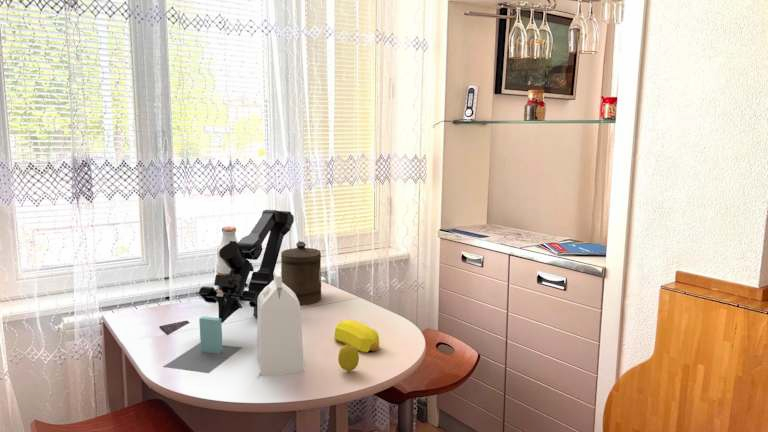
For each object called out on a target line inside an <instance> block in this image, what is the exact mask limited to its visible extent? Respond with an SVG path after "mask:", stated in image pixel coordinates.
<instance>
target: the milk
mask: <svg viewBox="0 0 768 432" xmlns="http://www.w3.org/2000/svg"><path fill="white" fill-rule="evenodd" d="M273 275H274V280H273V281H272V282H271V283H270V284H269V285H267V286H266V287H265V288H264V289H263V291H262V292H261V293H260V294H259V296H258V300H257V317H256V318H257V319H256V320H257V321H256V322H257V326H256V327H257V331H256V332H257V334H256V335H257V336H256V337H257V340H256V341H257V343H256V344H257V346H256V347H257V355H256V357H257V361H258V365H259V371H260V373H259V374H260V376H261V377H265V376H271V375H272V376H273V375H274V376H275V375H280V374H287V373H289V374H291V373H297V372H298V373H299V372H305V361H304V346H303V331H302V330H303V329H302V313H301V305H300V304H299V301H298V299H297V296H296V294H295V293H294V292H293V291H292V290H291V289H290V288H289V287H287V286H286V285H285V284H284V283H283V282H282V276H281V271H280V270H274V273H273Z"/></svg>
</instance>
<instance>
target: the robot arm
mask: <svg viewBox="0 0 768 432" xmlns="http://www.w3.org/2000/svg"><path fill="white" fill-rule="evenodd" d="M261 213H262V214H261V216H260V218H259V219H258V221H257V223H256V224H255V225H254V227H253V228H252V230H251V231H250V233H249V234H248V235H246V236H244V237H242V238H240V240H239V241H238V243H237V242H236V241H230V242H229V244H227V245H225V246H224V247H222V249H220V252H219V255H220V257H221V259H222V260H223V261H224V262H225V264H226V265H227V266H228V267H229V268H231V270H230V273H229V274H226V275H217V274H215V277H214V283H213V286H217V287H218V286H219V289H220V290H222V292H220V291H218V290H216V288H215V287H213V286H202V287H200V289H199V291H198V293H197V294H198V295H199V296H200V298H202V300H203V301H204V302H205V303H209V304H210V303H211V304H216V303H217V304H218V318H221V322H222V324H224V322H225V321H226V320H227V319H229V317H231V316H232V315H233V314H234V313H236V312H237V310H239V309H242V308H243V305H242V304H243V303H245V302H249V303H248V304H249V306H250V308H253V314H252V315H253V316H254V317H256V318H257V300H258V296H259V294H260V293H261V292H262V291H263V289H264V288H265V287H266V286H267V285H269V284H270V283H271V282H272V281H273V280H274V271H275V269H276V265H277V262H278V258H279V254H280V251H281V247H282V243H283V239H284V236H286V235H287V234H288V233H289V232H290V231H291V228H292V225H293V224H294V222H295V221H294V220H295V218H294V215H293V214H292V212H291V211H287V210H286V211H285V210H276V209H263V211H262V212H261ZM268 234H269V235H268ZM267 236H268V239H267V242H266V245H265V249H264V248H263V245H262V244H263V242H264V241H265V239H266V237H267ZM263 249H264V253H263V256H262V260H261V262H260V267H259V269H258V270H257V271H255V270H254V266H253V263H252V262H251V261H250V260H252V261H253V260H255V261H256V260H258V259H259V258H260V257H261V255H262V252H263ZM250 272H252V273H251V277H250V280H249V282H248V283H247V281H248V278H249V275H250ZM245 288H247V289H248V290H245ZM243 289H244V291H243ZM242 291H243V294H242ZM242 302H243V303H242Z"/></svg>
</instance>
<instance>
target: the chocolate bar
mask: <svg viewBox="0 0 768 432" xmlns="http://www.w3.org/2000/svg"><path fill="white" fill-rule="evenodd" d="M190 323H191V322H190V321H188V320H182V321H178V322H173V323H168V324H164V325H159V329H160V328H161V329H160V330H161V331H162V332H164V333H165V334H166V335H167V334H168V335H171V334H173V333H174V332H176V331H177V330H179V329H181V328H183V327H185V326H186V325H187V326H188V325H189V324H190ZM168 335H167V336H168Z"/></svg>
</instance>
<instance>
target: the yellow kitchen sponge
mask: <svg viewBox="0 0 768 432" xmlns="http://www.w3.org/2000/svg"><path fill="white" fill-rule="evenodd" d="M333 338H334V339H335V340H336V341H337V342H339V341H340V342H339V343H341V342H342V344H344V345H347V344H350V345H353V346H354V347H355V348H356V349H358V350H357V351H358V352H359V351H360V352H361V353H363V352H366V353H368V352H369V351H371V352H377V350H378V349H379V348H380V339H379V338H380V337H379V332H377V331H376V330H375V329H374V328H371V327H369V326H368V325H366V324H364V323H362V322H358V321H356V320H352V319H349V318H348V319H346V320H344V321H339V322H338V323H337V324H336V326H335V328H334V335H333Z"/></svg>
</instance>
